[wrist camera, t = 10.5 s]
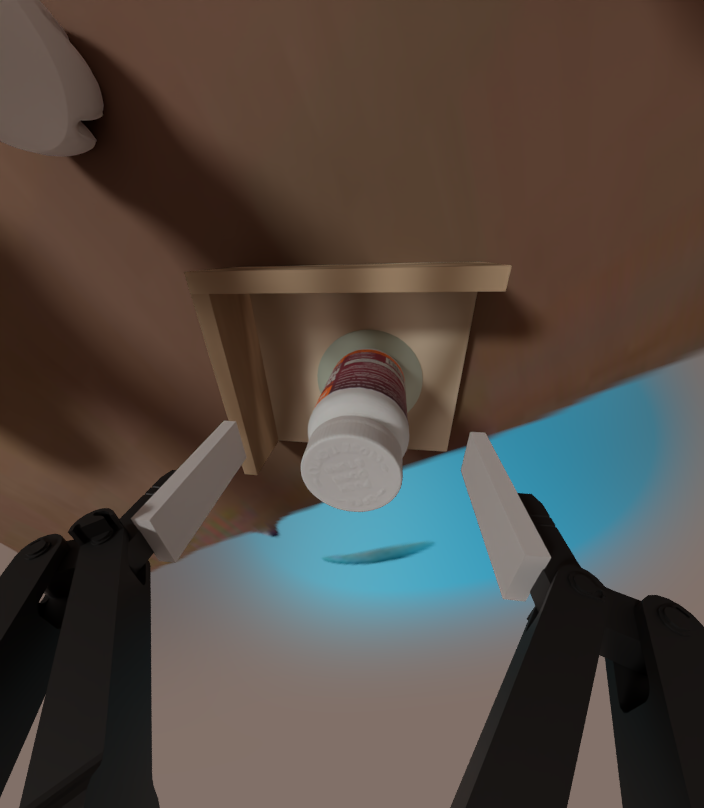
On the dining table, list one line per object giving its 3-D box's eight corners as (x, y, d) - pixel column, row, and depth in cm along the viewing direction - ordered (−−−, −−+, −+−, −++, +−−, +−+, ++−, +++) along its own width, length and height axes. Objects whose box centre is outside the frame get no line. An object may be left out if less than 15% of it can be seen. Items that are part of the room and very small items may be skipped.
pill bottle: (331, 344, 22) (280, 420, 12) (408, 347, 21) (420, 430, 11) (334, 409, 25) (296, 512, 15) (401, 414, 24) (407, 524, 14)
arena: (270, 435, 29) (244, 474, 24) (234, 266, 21) (183, 272, 16) (445, 446, 26) (457, 492, 21) (479, 261, 18) (511, 265, 13)
